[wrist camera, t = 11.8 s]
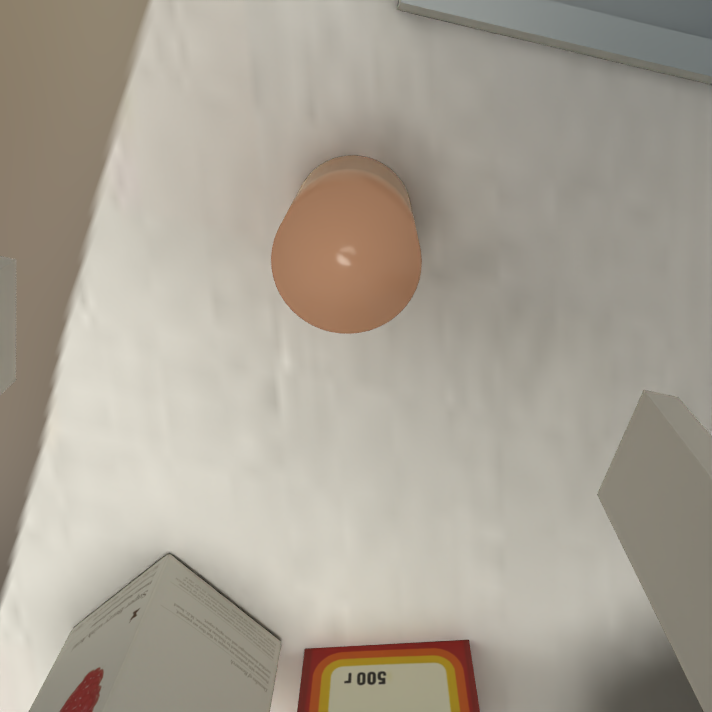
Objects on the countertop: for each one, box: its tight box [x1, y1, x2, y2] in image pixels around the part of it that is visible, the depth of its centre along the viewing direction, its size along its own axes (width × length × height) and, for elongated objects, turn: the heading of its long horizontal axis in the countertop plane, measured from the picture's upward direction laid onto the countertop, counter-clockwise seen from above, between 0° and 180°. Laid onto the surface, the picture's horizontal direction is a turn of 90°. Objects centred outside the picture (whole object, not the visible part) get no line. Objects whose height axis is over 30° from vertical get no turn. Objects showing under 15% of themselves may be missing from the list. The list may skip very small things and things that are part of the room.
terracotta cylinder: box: [271, 155, 422, 333], centre depth 26 cm, size 5×5×7 cm
